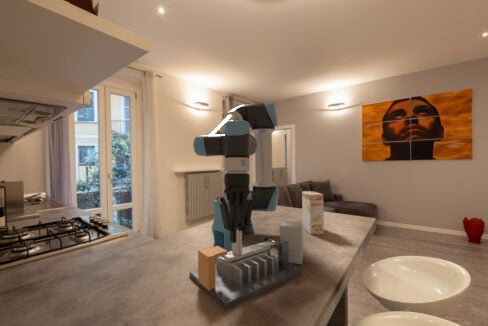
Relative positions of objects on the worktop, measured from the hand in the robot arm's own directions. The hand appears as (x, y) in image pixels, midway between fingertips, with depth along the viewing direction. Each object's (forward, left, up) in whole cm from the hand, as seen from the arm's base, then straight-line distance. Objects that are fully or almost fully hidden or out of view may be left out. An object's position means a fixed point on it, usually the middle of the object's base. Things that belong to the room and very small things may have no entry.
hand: (236, 252), depth 65 cm
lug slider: (0, -8, -6) cm, 10 cm away
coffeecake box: (-16, +60, -8) cm, 62 cm away
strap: (0, +6, -1) cm, 7 cm away
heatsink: (0, +4, -8) cm, 9 cm away
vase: (-19, +9, -8) cm, 23 cm away
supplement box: (+1, +24, -8) cm, 25 cm away
